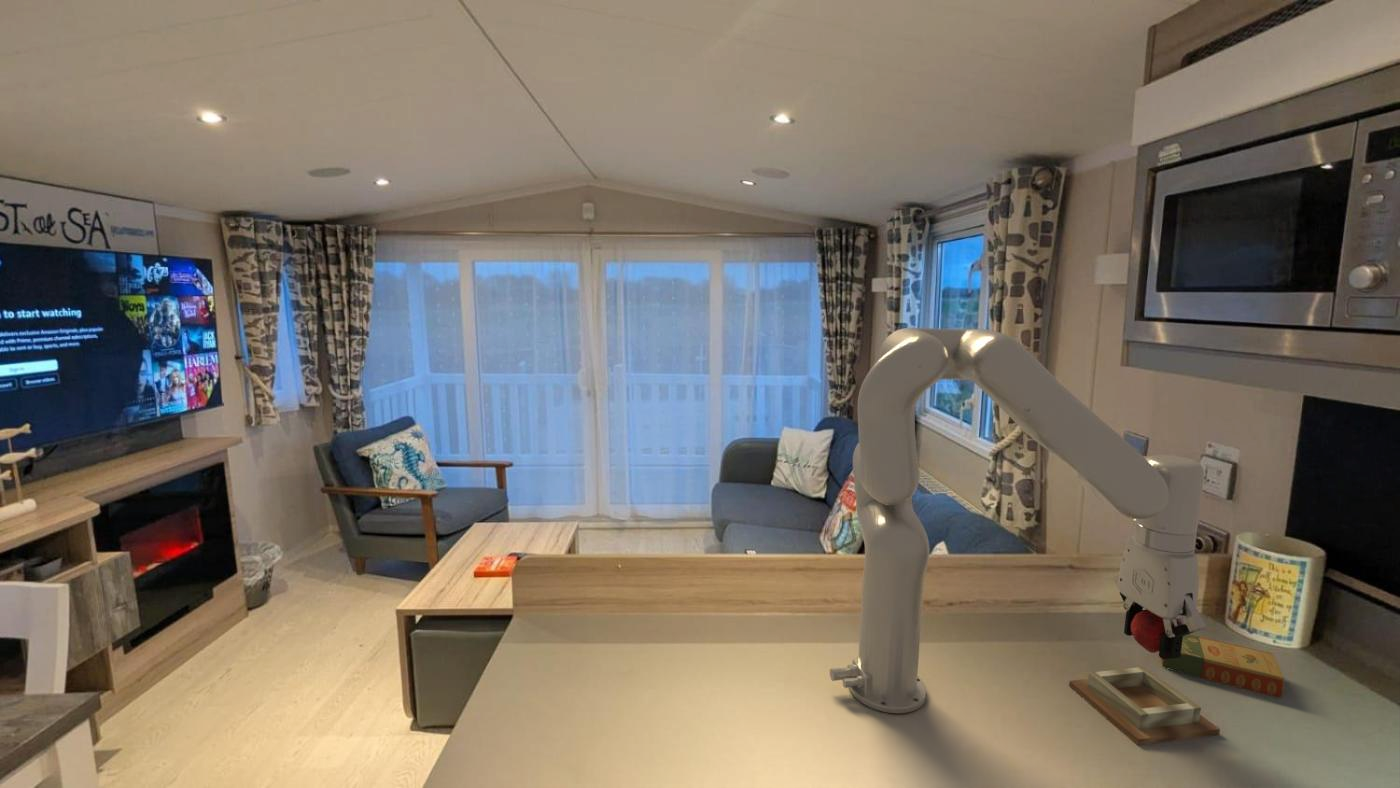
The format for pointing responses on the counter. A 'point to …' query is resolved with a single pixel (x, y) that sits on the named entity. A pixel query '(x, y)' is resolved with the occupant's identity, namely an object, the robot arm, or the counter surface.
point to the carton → (1229, 665)
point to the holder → (1143, 706)
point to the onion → (1148, 630)
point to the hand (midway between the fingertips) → (1151, 644)
